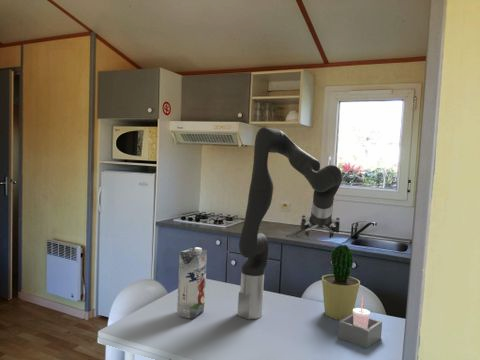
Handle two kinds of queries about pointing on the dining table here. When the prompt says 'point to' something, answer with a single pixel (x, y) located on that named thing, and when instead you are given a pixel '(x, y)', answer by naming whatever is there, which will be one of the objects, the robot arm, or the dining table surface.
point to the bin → (360, 332)
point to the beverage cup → (361, 316)
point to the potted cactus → (340, 285)
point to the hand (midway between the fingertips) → (318, 235)
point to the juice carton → (191, 282)
